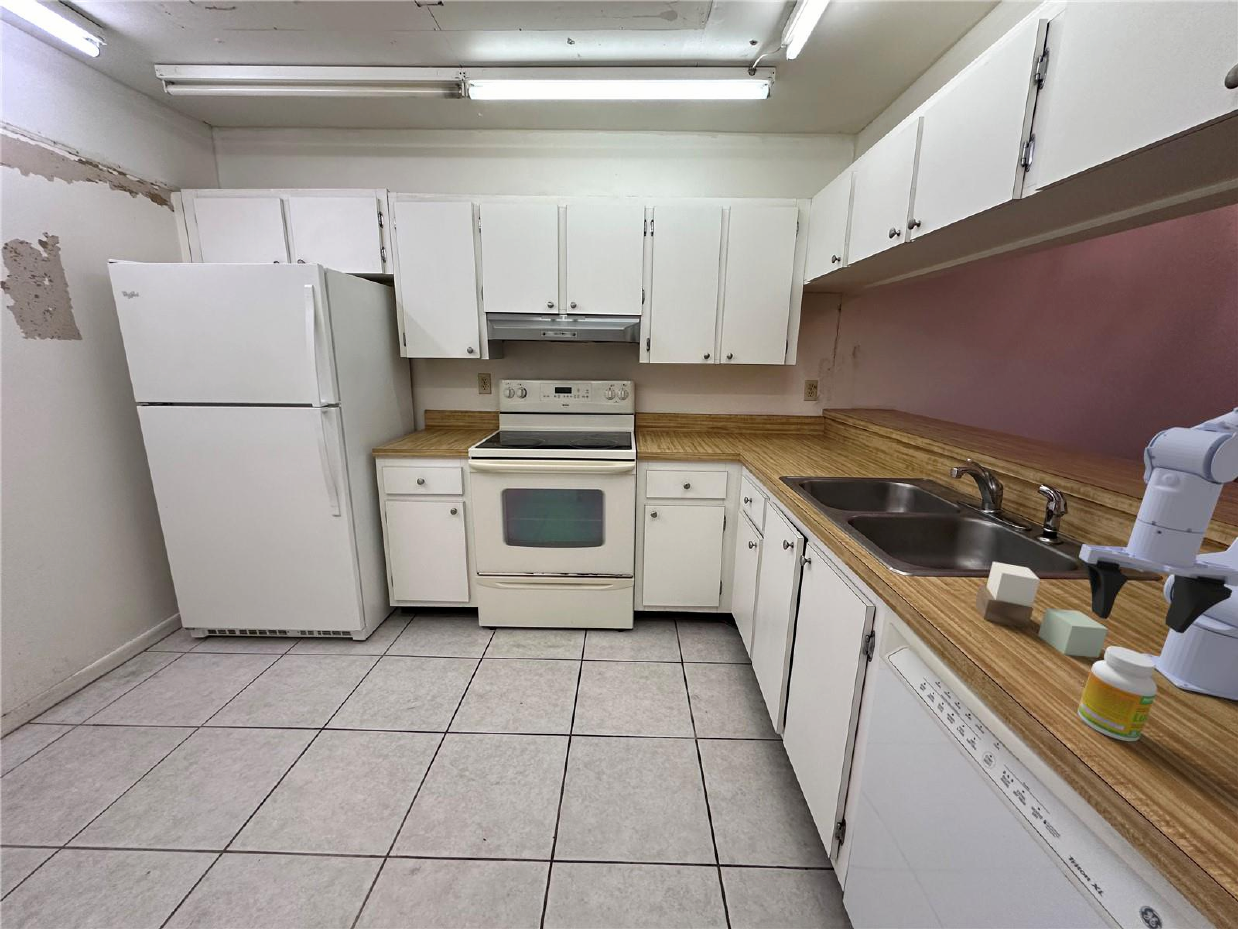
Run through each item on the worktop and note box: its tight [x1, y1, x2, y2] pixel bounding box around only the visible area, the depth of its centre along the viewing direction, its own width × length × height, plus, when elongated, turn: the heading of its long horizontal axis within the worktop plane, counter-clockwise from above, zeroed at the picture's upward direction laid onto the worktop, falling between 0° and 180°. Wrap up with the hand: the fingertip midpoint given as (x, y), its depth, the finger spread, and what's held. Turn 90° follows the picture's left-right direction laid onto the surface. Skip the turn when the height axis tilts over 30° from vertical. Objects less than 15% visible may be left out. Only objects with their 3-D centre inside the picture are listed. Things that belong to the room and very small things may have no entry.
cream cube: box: [986, 561, 1041, 608], centre depth 80 cm, size 5×5×5 cm
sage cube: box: [1037, 608, 1109, 658], centre depth 73 cm, size 5×5×5 cm
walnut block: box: [974, 584, 1034, 630], centre depth 82 cm, size 6×6×4 cm
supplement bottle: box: [1077, 645, 1158, 742], centre depth 56 cm, size 5×5×10 cm
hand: (1135, 621), depth 62 cm, fingers open, 7 cm apart
